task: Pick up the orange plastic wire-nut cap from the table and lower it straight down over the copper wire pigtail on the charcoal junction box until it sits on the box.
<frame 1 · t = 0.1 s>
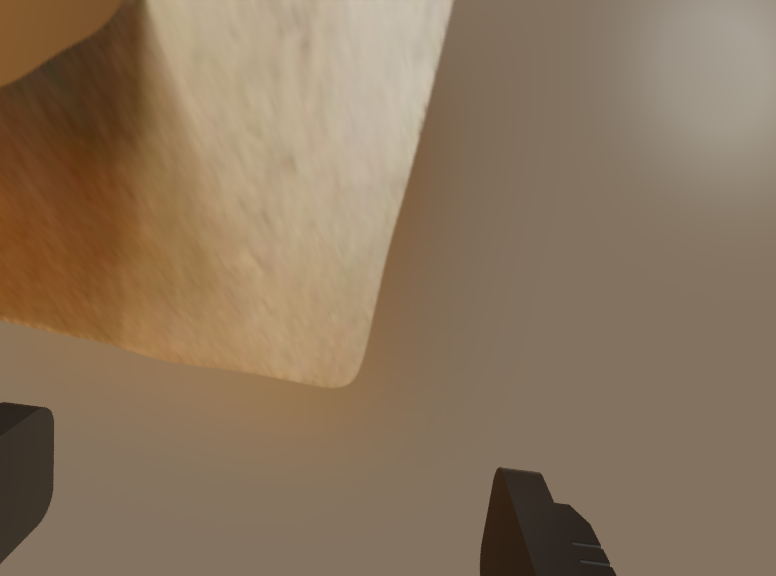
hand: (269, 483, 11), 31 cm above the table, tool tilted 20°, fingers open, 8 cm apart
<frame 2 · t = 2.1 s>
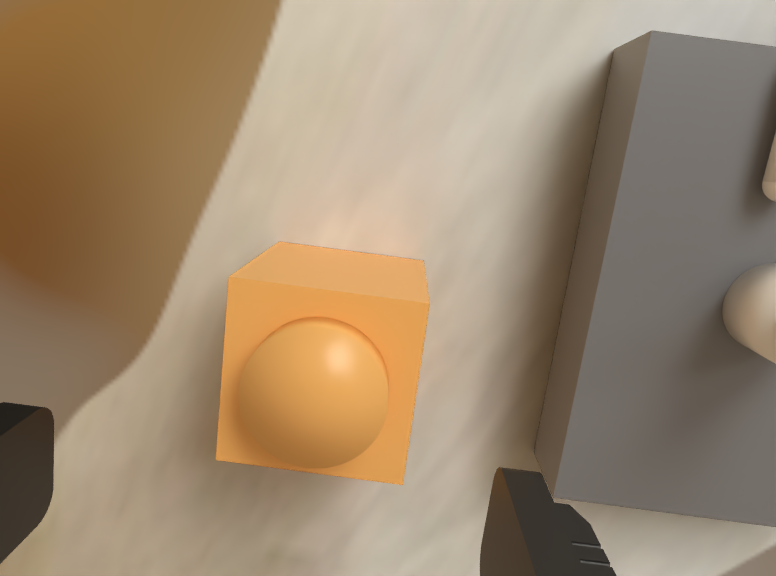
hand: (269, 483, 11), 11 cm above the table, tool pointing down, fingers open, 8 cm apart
wire nut: (343, 320, 21), on the table
junction box: (716, 284, 21), on the table
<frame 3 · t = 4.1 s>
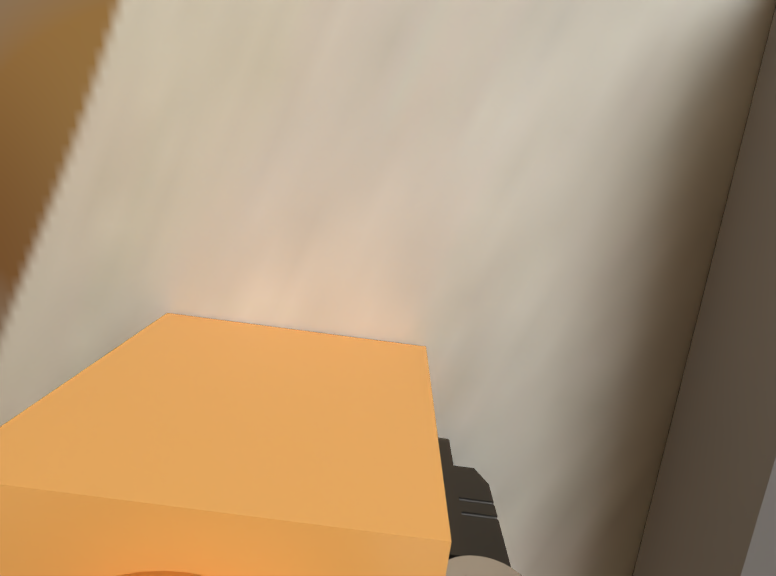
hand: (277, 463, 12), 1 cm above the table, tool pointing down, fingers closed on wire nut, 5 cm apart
wire nut: (284, 448, 12), on the table, touching gripper
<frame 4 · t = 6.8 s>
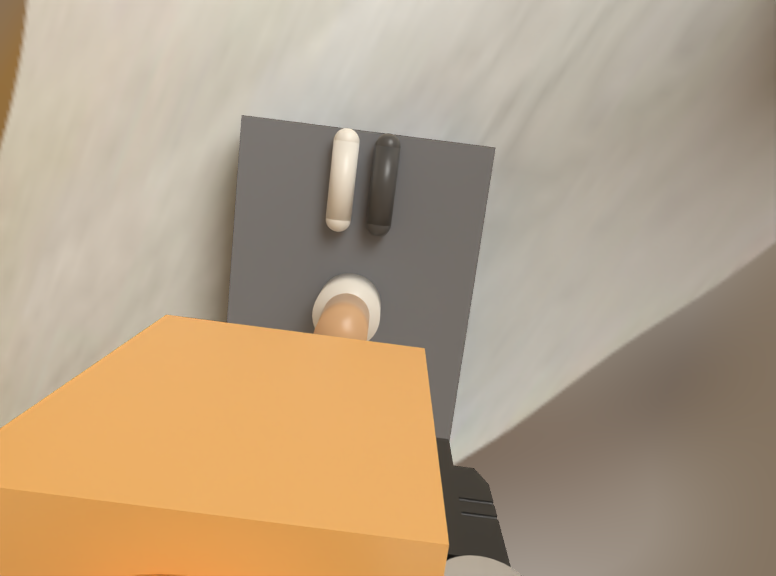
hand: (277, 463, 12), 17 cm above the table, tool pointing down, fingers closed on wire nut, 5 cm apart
wire nut: (283, 449, 12), point 16 cm above the table, touching gripper
junction box: (353, 288, 28), on the table
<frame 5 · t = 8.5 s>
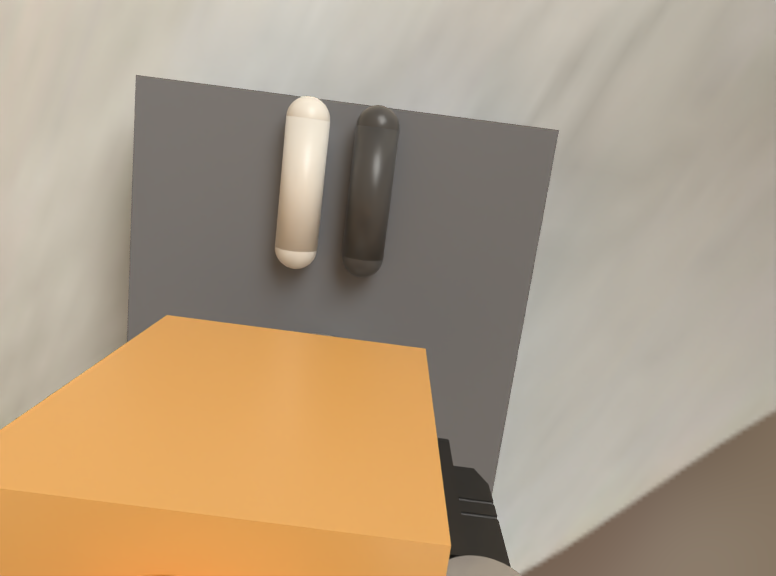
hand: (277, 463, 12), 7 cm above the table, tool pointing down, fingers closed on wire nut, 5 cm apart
wire nut: (284, 450, 12), point 7 cm above the table, touching gripper
junction box: (331, 345, 19), on the table
when the fingers open (5 cm above the table, at t = 9.9 s): wire nut stays where it is, resting on junction box.
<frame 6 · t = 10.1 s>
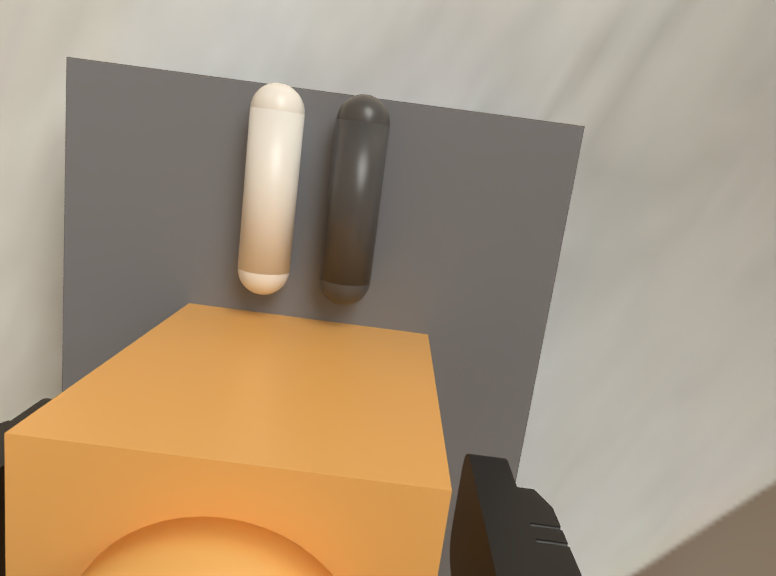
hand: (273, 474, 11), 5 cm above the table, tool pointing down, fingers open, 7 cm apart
wire nut: (297, 429, 13), point 3 cm above the table, touching junction box
junction box: (311, 377, 16), on the table
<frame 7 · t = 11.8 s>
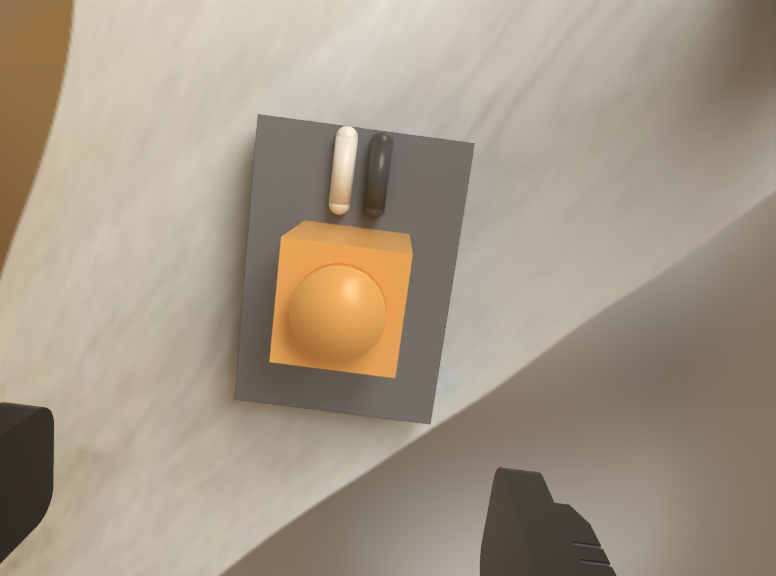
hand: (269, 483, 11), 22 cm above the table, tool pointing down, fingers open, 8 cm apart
wire nut: (351, 278, 29), point 3 cm above the table, touching junction box
junction box: (353, 266, 32), on the table
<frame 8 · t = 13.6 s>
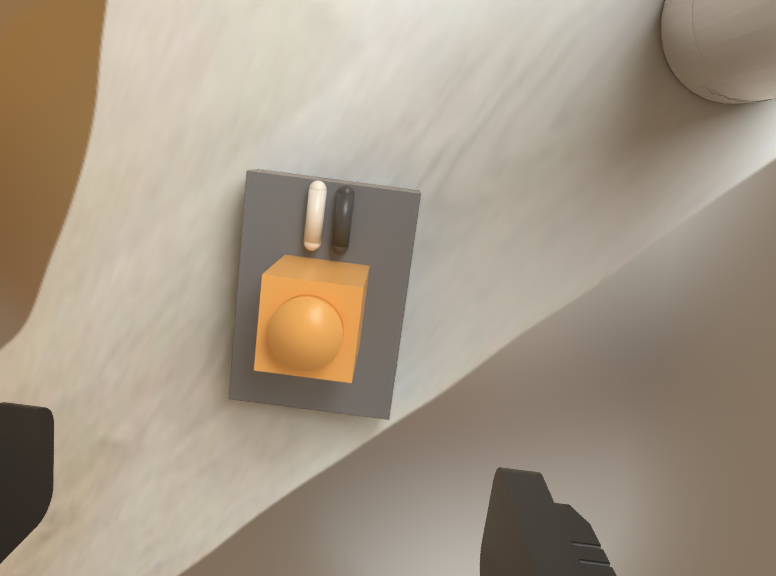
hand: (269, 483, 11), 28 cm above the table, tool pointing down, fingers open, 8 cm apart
wire nut: (322, 301, 36), point 3 cm above the table, touching junction box
junction box: (326, 289, 39), on the table
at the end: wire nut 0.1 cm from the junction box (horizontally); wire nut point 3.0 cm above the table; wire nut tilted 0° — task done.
